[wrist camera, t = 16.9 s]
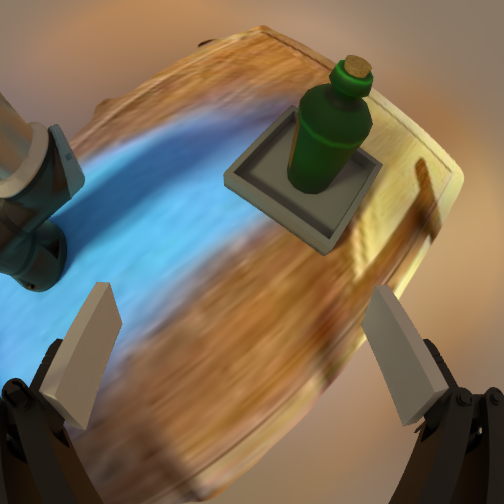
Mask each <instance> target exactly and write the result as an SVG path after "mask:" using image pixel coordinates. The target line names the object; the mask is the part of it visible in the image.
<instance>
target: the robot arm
mask: <svg viewBox="0 0 504 504" xmlns="http://www.w3.org/2000/svg"><path fill="white" fill-rule="evenodd" d="M84 183H85V176H84V174H83V171H82V169H81V167H80V165H79V163H78V161H77V159H76V157H75V155H74V153H73V151H72V149H71V147H70V145H69V143H68V141H67V139H66V137H65V135H64V133H63V132H62V130H61V128H60V127H59V125H58V124H55V125H53V126H50V127H49V128H48V130H47V129H46V127H44V126H43V125H42V124H41V123H38V122H30V123H26V122H25V121H24V120H23V118H21V116H20V115H19V114H18V113H17V112H16V110H15V109H14V108H13V107H12V106H11V105H10V103H9V102H8V101H7V100H6V99H5V97H4V96H3V95H2V94H1V92H0V273H3V274H7V275H10V276H11V277H12V278H14V279H15V280H16V281H17V282H18V283H19V284H20V285H21V286H22V287H24V288H25V289H27V290H30V291H34V292H43V291H46V290H48V289H49V288H51V287H52V286H53V285H54V284H55V283H56V281H57V280H58V279H59V277H60V275H61V273H62V271H63V268H64V265H65V261H66V254H67V246H66V240H65V236H64V234H63V232H62V230H61V229H60V228H59V227H58V226H57V225H56V224H54V223H53V222H51V221H49V220H47V219H48V218H49V217H51V216H52V215H53V214H54V213H55V212H56V211H57V210H58V209H60V208H61V207H62V206H63V205H64V204H65V203H67V202H68V201H69V200H71V199H72V197H73V196H74V195H75V194H76V193H77V192H78V191H79V190H80V189H81V188H82V187H83V185H84ZM121 326H122V321H121V318H120V315H119V312H118V308H117V305H116V302H115V299H114V296H113V292H112V289H111V285H110V283H105V282H97V283H96V284H95V286H94V287H93V289H92V291H91V292H90V294H89V295H88V297H87V299H86V300H85V302H84V304H83V306H82V307H81V309H80V311H79V312H78V314H77V316H76V318H75V319H74V321H73V323H72V325H71V327H70V328H69V330H68V332H67V334H66V336H65V338H64V340H63V339H58V338H57V339H56V340H55V341H54V342H53V343H52V344H51V345H50V346H49V348H48V350H47V352H46V354H45V357H44V358H43V360H42V364H40V366H39V368H38V370H37V372H36V374H35V376H34V378H33V380H32V383H31V385H30V387H29V388H28V386H27V385H26V384H25V383H24V382H23V381H22V380H21V379H19V378H13V379H10V380H9V381H7V382H6V383H5V385H4V386H3V389H2V397H3V398H1V397H0V504H104V503H103V501H102V500H101V498H100V496H99V495H98V493H97V491H96V490H95V488H94V486H93V484H92V483H91V481H90V479H89V477H88V475H87V474H86V472H85V470H84V468H83V466H82V464H81V462H80V460H79V458H78V456H77V454H76V451H75V449H74V447H73V445H72V443H71V440H70V438H69V436H68V433H67V431H66V429H65V427H64V426H63V424H64V421H65V420H66V421H67V422H68V423H69V424H70V425H71V426H73V427H76V428H79V429H83V430H86V427H87V424H88V420H89V417H90V413H91V410H92V407H93V404H94V401H95V397H96V394H97V391H98V388H99V385H100V382H101V379H102V377H103V374H104V371H105V368H106V365H107V362H108V360H109V357H110V354H111V352H112V349H113V346H114V344H115V341H116V339H117V336H118V334H119V331H120V329H121ZM361 326H362V328H363V330H364V332H365V334H366V337H367V339H368V341H369V343H370V346H371V348H372V350H373V353H374V355H375V357H376V359H377V362H378V364H379V367H380V369H381V371H382V373H383V376H384V379H385V381H386V383H387V386H388V388H389V391H390V393H391V396H392V399H393V401H394V404H395V406H396V409H397V412H398V414H399V417H400V419H401V422H402V425H403V426H406V425H410V424H413V423H416V422H417V421H418V420H419V419H421V418H422V417H423V416H424V418H425V421H424V422H423V423H422V424H421V425H420V426H419V427H418V428H417V429H416V430H415V432H414V433H417V432H418V431H419V430H420V429H421V430H420V433H419V436H418V439H417V441H416V444H415V447H414V449H413V452H412V454H411V457H410V459H409V462H408V464H407V466H406V469H405V471H404V473H403V476H402V478H401V480H400V482H399V484H398V486H397V488H396V490H395V492H394V494H393V496H392V498H391V500H390V502H389V504H504V395H503V393H502V392H501V391H500V390H499V389H498V388H495V387H491V388H489V389H488V390H487V391H486V393H485V394H472V393H471V392H470V391H469V390H467V389H466V388H462V387H458V385H457V383H456V381H455V380H454V378H453V376H452V374H451V372H450V370H449V369H448V367H447V365H446V363H445V362H444V360H443V358H442V356H440V353H439V351H438V349H437V348H436V346H435V345H434V344H433V343H432V342H431V341H430V340H428V339H423V340H422V338H421V337H420V335H419V333H418V331H417V330H416V328H415V326H414V325H413V323H412V321H411V320H410V318H409V317H408V315H407V314H406V312H405V310H404V309H403V307H402V306H401V304H400V302H399V301H398V299H397V298H396V296H395V295H394V293H393V292H392V290H391V289H390V287H389V286H388V285H375V288H374V291H373V294H372V297H371V300H370V303H369V305H368V308H367V311H366V313H365V316H364V319H363V321H362V324H361ZM481 427H482V433H481V434H480V432H479V429H480V428H481Z"/></svg>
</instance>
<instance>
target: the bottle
mask: <svg viewBox="0 0 504 504" xmlns="http://www.w3.org/2000/svg"><path fill="white" fill-rule="evenodd" d="M371 69H372V67H371V65H370V64H369V63H368V62H367V61H366V60H364V59H363V58H361V57H358V56H354V55H349V56H347V57H346V59H345V60H340V61H339V63H338V64H337V65H336V67H335V68H334V69H333V71H332V72H331V74H330V75H329V78H330V81H331V83H332V84H329V83H327V84H323V85H319V86H315V87H313V88H311V89H309V90H308V91H307V92H306V93H305V95H304V96H303V97H302V99H301V100H300V105H299V110H298V115H297V120H296V126H295V131H294V136H293V141H292V146H291V151H290V156H289V161H288V166H287V176H288V180H289V181H290V183H291V184H292V185H293V187H294V188H295V189H297V190H299V191H301V192H303V193H304V194H318V193H320V192H322V191H324V190H326V189H327V187H328V186H329V185H330V183H331V182H332V181H333V180H334V178H335V177H336V176H337V175H338V173H339V172H340V171H341V170H342V168H343V167H344V166H345V164H346V163H347V162H348V161H349V159H350V158H351V157H352V155H353V154H354V153H355V152H356V150H357V149H358V148H359V146H360V145H361V144H362V143H363V141H364V140H365V139H366V137H367V136H368V134H369V132H370V129H371V127H372V125H373V123H372V119H371V115H370V112H369V109H368V106H367V103H366V102H365V101H364V100H363V99H362V98H363V97H366V96H368V95H369V93H370V91H371V87H372V82H373V75H372V73H371Z"/></svg>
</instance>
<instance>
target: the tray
mask: <svg viewBox="0 0 504 504" xmlns="http://www.w3.org/2000/svg"><path fill="white" fill-rule="evenodd" d="M298 110H299V109H298V108H296V107H295V106H293V105H292V106H291V107H289V108H288V109H287V110H286V111H285V112H284V113H283V114H282V115H281V116H280V117H279V118H278V119H277V120H276V121H275V122H274V123H273V124H272V125H271V126H270V127H269V128H267V129H266V130H265V131H264V132H263V133H262V134H261V135H260V136H259V137H258V138H257V139H256V140H255V141H254V142H253V143H252V144H251V145H250V146H249V147H248V148H247V149H246V151H245V152H244V153H243V154H242V155H241V156H240V157H239V158H238V159H237V160H236V161H235V162H234V163H233V164H232V165H231V166H230V167H229V168H228V169H227V170H226V171H225V172H224V174H223V175H224V186H225V187H227V188H228V189H230V190H231V191H233V192H234V193H236V194H237V195H239V196H240V197H242V198H243V199H245V200H246V201H247V202H249V203H250V204H252V205H253V206H255V207H256V208H257V209H259V210H260V211H262V212H263V213H265V214H266V215H267V216H269V217H270V218H272V219H273V220H275V221H276V222H277V223H279V224H280V225H282V226H283V227H284V228H286V229H287V230H289V231H290V232H291V233H293V234H294V235H295V236H297V237H298V238H300V239H301V240H302V241H304V242H305V243H306V244H308V245H309V246H311V247H312V248H313V249H315V250H316V251H317V252H319V253H320V254H321V255H323V256H325V255H326V254H327V253H328V252H329V251H331V250H332V248H333V247H334V245H335V244H336V242H337V241H338V239H339V237H340V236H341V234H342V233H343V231H344V230H345V228H346V226H347V225H348V223H349V221H350V220H351V218H352V217H353V215H354V213H355V212H356V210H357V208H358V207H359V205H360V203H361V202H362V200H363V198H364V197H365V195H366V193H367V191H368V190H369V188H370V186H371V185H372V183H373V181H374V179H375V178H376V176H377V174H378V172H379V171H380V169H381V167H382V165H383V164H381V163H380V162H379V161H377V160H376V159H375V158H373V157H372V156H371V155H369V154H368V153H367V152H365V151H364V150H362V149H361V148H360V147H359V148H358V149H357V150H356V152H355V153H354V154H353V155H352V157H351V158H350V159H349V161H348V162H347V163H346V164H345V166H344V167H343V168H342V170H341V171H340V172H339V173H338V175H337V176H336V177H335V178H334V180H333V181H332V182H331V183H330V185H329V186H328V187H327V189H326V190H324V191H322V192H320V193H318V194H304V193H303V192H301V191H299V190H297V189H295V188H294V187H293V185H292V184H291V183H290V181H289V180H288V176H287V166H288V161H289V156H290V151H291V146H292V141H293V136H294V131H295V126H296V120H297V115H298Z"/></svg>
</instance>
